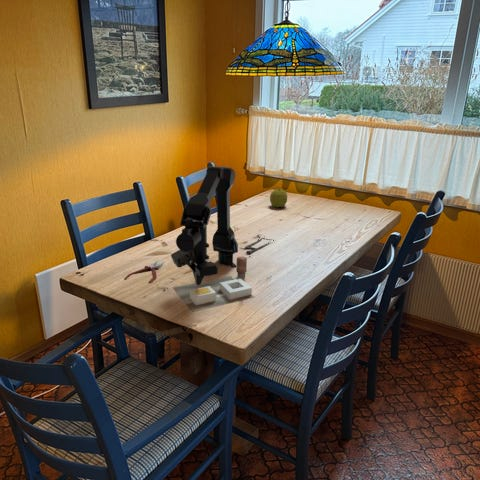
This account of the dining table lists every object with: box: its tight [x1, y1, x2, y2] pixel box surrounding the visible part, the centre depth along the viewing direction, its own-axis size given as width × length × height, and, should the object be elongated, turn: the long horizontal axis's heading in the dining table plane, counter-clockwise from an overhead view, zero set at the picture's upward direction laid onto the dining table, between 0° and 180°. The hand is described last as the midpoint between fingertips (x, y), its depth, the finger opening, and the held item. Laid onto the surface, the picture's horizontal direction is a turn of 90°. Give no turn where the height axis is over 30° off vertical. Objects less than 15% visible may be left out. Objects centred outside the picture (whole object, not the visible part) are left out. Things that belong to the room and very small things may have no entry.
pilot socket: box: [220, 278, 253, 299], centre depth 149 cm, size 8×8×2 cm
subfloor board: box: [172, 275, 255, 313], centre depth 149 cm, size 18×22×2 cm
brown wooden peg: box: [235, 256, 248, 280], centre depth 159 cm, size 4×4×9 cm
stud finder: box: [190, 286, 216, 305], centre depth 143 cm, size 5×7×3 cm
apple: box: [269, 188, 288, 208], centre depth 247 cm, size 10×10×11 cm
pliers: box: [123, 260, 165, 284], centre depth 164 cm, size 12×20×3 cm, turn 165°
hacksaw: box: [239, 234, 275, 255], centre depth 195 cm, size 24×10×2 cm, turn 145°
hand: (198, 284), depth 145 cm, fingers closed
